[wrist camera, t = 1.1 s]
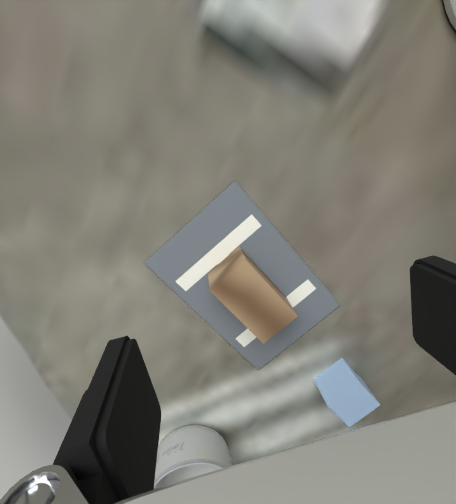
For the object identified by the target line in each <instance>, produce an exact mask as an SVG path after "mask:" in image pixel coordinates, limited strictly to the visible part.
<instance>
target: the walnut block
mask: <svg viewBox="0 0 456 504" xmlns="http://www.w3.org/2000/svg"><path fill="white" fill-rule="evenodd" d="M208 280H209V289H210V292H211V293H212V294H213V295H214V296H215V297H216V298H217V299H218V300H219V301H221V302H222V303H223V304H224V305H225V306H226V307H227V308H228V309H229V310H230V311H231V312H232V313H233V314H234V315H235V316H236V317H237V318H238V319H239V320H240V321H241V322H242V323H243V324H244V325H245V326H246V327H247V328H248V329H249V330H250V331H251V332H252V333H253V334H254V335H255V336H256V337H257V338H258V339H259V340H260V341H261V342H262V343H263V344H264V343H265V342H266V341H268V340H269V339H270V338H271V337H273V336H274V335H275V334H276V333H278V332H279V331H280V330H281V329H283V328H284V327H285V326H286V325H288V324H289V323H290V322H291V321H293V320H294V319H295V318H296V317H297V316H298V315H297V314H296V312H295V310H294V309H293V307H292V306H291V304H290V303H289V301H288V299H287V298H286V296H285V295H284V294H283V293H282V292H281V291H280V290H279V289H278V288H277V286H276V285H275V284H274V283H273V282H272V281H271V280H270V279H269V278H268V277H267V276H266V274H265V273H264V272H263V271H262V270H261V269H260V268H259V267H258V266H257V265H256V264H255V262H254V261H253V260H252V259H251V258H250V257H249V256H248V255H247V254H246V253H245V252H244V250H243V249H242V248H241V247H240V246H239V247H238V248H237V249H235V250H234V251H233V252H232V253H231V254H230V255H228V256H227V257H226V258H225V259H224V260H223V261H222V262H220V263H219V264H218V265H217V266H216V267H215V268H213V269H212V270H211V271H210V272H209V273H208Z"/></svg>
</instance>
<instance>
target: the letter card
mask: <svg viewBox="0 0 456 504" xmlns="http://www.w3.org/2000/svg"><path fill="white" fill-rule="evenodd" d="M239 246H240V247H241V248H242V249H243V250H244V252H245V253H246V254H247V255H248V256H249V257H250V258H251V259H252V260H253V261H254V262H255V264H256V265H257V266H258V267H259V268H260V269H261V270H262V271H263V272H264V273H265V274H266V276H267V277H268V278H269V279H270V280H271V281H272V282H273V283H274V284H275V285H276V286H277V288H278V289H279V290H280V291H281V292H282V293H283V294H284V295H285V296H286V298H287V299H288V301H289V303H290V304H291V306H292V307H293V309H294V310H295V312H296V314H297V315H298V316H297V317H296V318H295V319H294V320H293V321H291V322H290V323H289V324H288V325H286V326H285V327H284V328H283V329H281V330H280V331H279V332H278V333H276V334H275V335H274V336H273V337H271V338H270V339H269V340H268V341H266V342H265V343H264V344H263V343H262V342H261V341H260V340H259V339H258V338H257V337H256V336H255V335H254V334H253V333H252V332H251V331H250V330H249V329H248V328H247V327H246V326H245V325H244V324H243V323H242V322H241V321H240V320H239V319H238V318H237V317H236V316H235V315H234V314H233V313H232V312H231V311H230V310H229V309H228V308H227V307H226V306H225V305H224V304H223V303H222V302H221V301H219V300H218V299H217V298H216V297H215V296H214V295H213V294H212V293H211V292H210V289H209V280H208V273H209V272H210V271H211V270H212V269H213V268H215V267H216V266H217V265H218V264H219V263H220V262H222V261H223V260H224V259H225V258H226V257H227V256H228V255H230V254H231V253H232V252H233V251H234V250H235V249H237V248H238V247H239ZM144 264H145V265H146V266H148V267H149V268H150V269H151V270H152V271H153V272H154V273H155V274H156V275H157V276H158V277H159V278H160V279H161V280H162V281H164V282H165V283H166V284H167V285H168V286H169V287H170V288H171V289H172V290H173V291H174V292H175V293H176V294H177V295H178V296H180V297H181V298H182V299H183V300H184V301H185V302H186V303H187V304H188V305H189V306H190V307H191V308H192V309H193V310H194V311H195V312H197V313H198V314H199V315H200V316H201V317H202V318H203V319H204V320H205V321H206V322H207V323H208V324H209V325H210V326H211V327H213V328H214V329H215V330H216V331H217V332H218V333H219V334H220V335H221V336H222V337H223V338H224V339H225V340H226V341H227V342H228V343H230V344H231V345H232V346H233V347H234V348H235V349H236V350H237V351H238V352H239V353H240V354H241V355H242V356H243V357H244V358H246V359H247V360H248V361H249V362H250V363H251V364H252V365H253V366H254V367H255V368H256V369H257V370H259V369H260V368H262V367H263V366H264V365H265V364H267V363H268V362H269V361H270V360H272V359H273V358H274V357H275V356H277V355H278V354H279V353H280V352H282V351H283V350H284V349H286V348H287V347H288V346H289V345H291V344H292V343H293V342H294V341H296V340H297V339H298V338H299V337H301V336H302V335H303V334H304V333H306V332H307V331H308V330H309V329H311V328H312V327H313V326H315V325H316V324H317V323H318V322H320V321H321V320H322V319H323V318H325V317H326V316H327V315H328V314H330V313H331V312H332V311H333V310H335V309H336V308H337V307H338V306H340V304H339V302H338V301H337V300H336V299H335V298H334V297H333V295H332V294H331V293H330V292H329V291H328V290H327V288H326V287H325V286H324V285H323V284H322V283H321V281H320V280H319V279H318V278H317V277H316V275H315V274H314V273H313V272H312V271H311V270H310V268H309V267H308V266H307V265H306V264H305V263H304V261H303V260H302V259H301V258H300V257H299V255H298V254H297V253H296V252H295V251H294V250H293V248H292V247H291V246H290V245H289V244H288V243H287V241H286V240H285V239H284V238H283V237H282V236H281V234H280V233H279V232H278V231H277V230H276V228H275V227H274V226H273V225H272V224H271V223H270V221H269V220H268V219H267V218H266V217H265V216H264V214H263V213H262V212H261V211H260V210H259V208H258V207H257V206H256V205H255V204H254V203H253V201H252V200H251V199H250V198H249V197H248V196H247V194H246V193H245V192H244V191H243V190H242V188H241V187H240V186H239V185H238V184H237V183H236V181H234V182H233V183H232V184H231V185H230V186H229V187H227V188H226V189H225V190H224V191H223V192H222V193H221V194H220V195H219V196H217V197H216V198H215V199H214V200H213V201H212V202H211V203H210V204H209V205H207V206H206V207H205V208H204V209H203V210H202V211H201V212H200V213H199V214H198V215H196V216H195V217H194V218H193V219H192V220H191V221H190V222H189V223H188V224H186V225H185V226H184V227H183V228H182V229H181V230H180V231H179V232H178V233H177V234H175V235H174V236H173V237H172V238H171V239H170V240H169V241H168V242H167V243H165V244H164V245H163V246H162V247H161V248H160V249H159V250H158V251H157V252H155V253H154V254H153V255H152V256H151V257H150V258H149V259H148V260H147V261H146V262H144Z"/></svg>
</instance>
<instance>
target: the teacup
mask: <svg viewBox="0 0 456 504" xmlns="http://www.w3.org/2000/svg"><path fill="white" fill-rule="evenodd" d="M229 466H232V462H231V457H230V453H229V450H228V447H227V444H226V442H225V441H224V439H223V438H222V436H221V435H220V434H219V433H218V432H216V431H215V430H213V429H211V428H209V427H206V426H201V425H188V426H184V427H181V428H178V429H176V430H174V431H172V432H171V433H169V434H168V435H167V436H166V437H165V438H164V439H163V440H162V441H161V443H160V444H159V445H158V451H157V461H156V471H155V481H154V489H157V488H160V487H163V486H166V485H169V484H172V483H175V482H178V481H181V480H185V479H188V478H192V477H195V476H198V475H202V474H205V473H208V472H212V471H215V470H219V469H222V468H225V467H229Z"/></svg>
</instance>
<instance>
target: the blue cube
mask: <svg viewBox="0 0 456 504" xmlns="http://www.w3.org/2000/svg"><path fill="white" fill-rule="evenodd" d="M314 381H315V383H316V385H317V387H318V389H319V391H320V393H321V394H322V396H323V398H324V400H325V402H326V404H327V406H328V407H329V408H330V409H331V410H332V411H333V412H334V413H335V414H336V415H337V416H338V417H339V418H340V419H341V420H342V421H343V422H344V423H345V424H346V425H347V426H348V427H351V426H352V425H354V424H355V423H356V422H358V421H359V420H360V419H362V418H363V417H365V416H366V415H367V414H369V413H370V412H371V411H373V410H374V409H376V408H377V407H378V406H380V403H379V402H378V401H377V399H376V398H375V397H374V395H373V394H372V393H371V391H370V390H369V388H368V387H367V386H366V384H365V383H364V382H363V380H362V379H361V378H360V377H359V376H358V375H357V373H356V372H355V371H354V370H353V369H352V368H351V367H350V366H349V365H348V364H347V363H346V361H345V360H344V359H343V358H341V359H340V360H338V361H337V362H336V363H334V364H333V365H332V366H330V367H329V368H328V369H327V370H325V371H324V372H323V373H321V374H320V375H319V376H317V377H316V378H315V379H314Z"/></svg>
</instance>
